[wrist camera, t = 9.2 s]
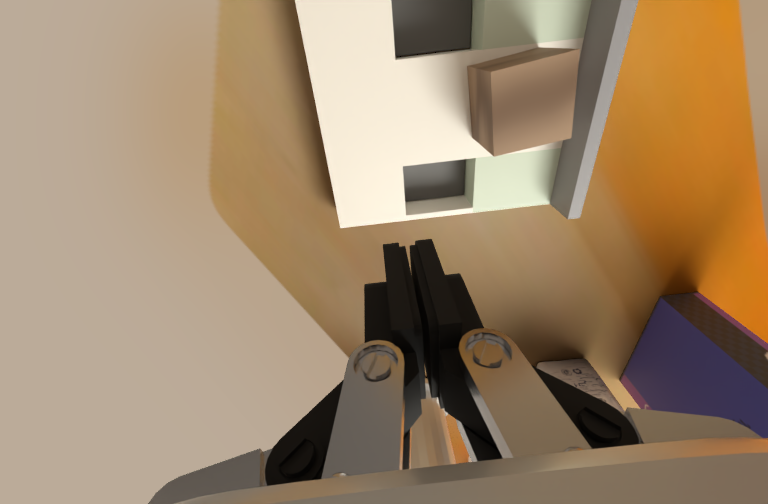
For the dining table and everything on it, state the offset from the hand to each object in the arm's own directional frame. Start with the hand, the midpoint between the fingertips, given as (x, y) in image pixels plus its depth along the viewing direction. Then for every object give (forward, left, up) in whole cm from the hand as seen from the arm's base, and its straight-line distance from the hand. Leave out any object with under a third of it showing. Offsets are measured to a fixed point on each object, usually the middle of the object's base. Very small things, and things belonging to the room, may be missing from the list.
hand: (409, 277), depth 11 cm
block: (+3, -9, -17) cm, 19 cm away
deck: (+2, -5, -20) cm, 21 cm away
